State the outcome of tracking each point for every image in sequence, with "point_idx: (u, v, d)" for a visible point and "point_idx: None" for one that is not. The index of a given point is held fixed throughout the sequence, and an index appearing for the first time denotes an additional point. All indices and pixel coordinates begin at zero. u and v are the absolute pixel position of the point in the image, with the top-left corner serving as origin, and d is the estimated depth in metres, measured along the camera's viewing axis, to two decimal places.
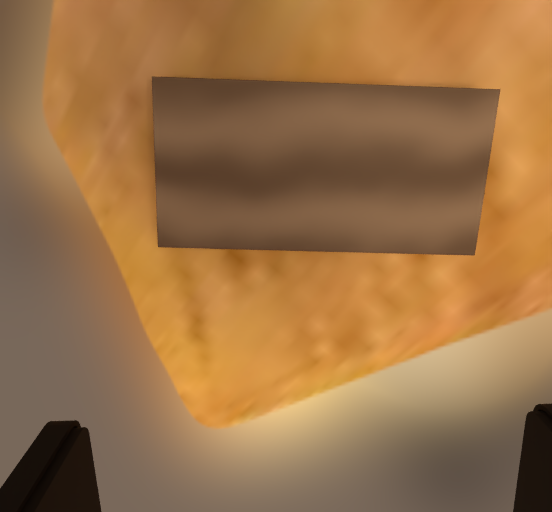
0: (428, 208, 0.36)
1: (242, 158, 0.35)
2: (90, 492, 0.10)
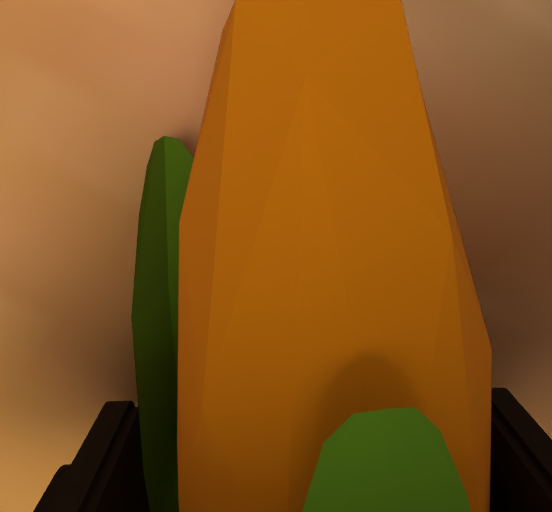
0: None
1: None
2: None
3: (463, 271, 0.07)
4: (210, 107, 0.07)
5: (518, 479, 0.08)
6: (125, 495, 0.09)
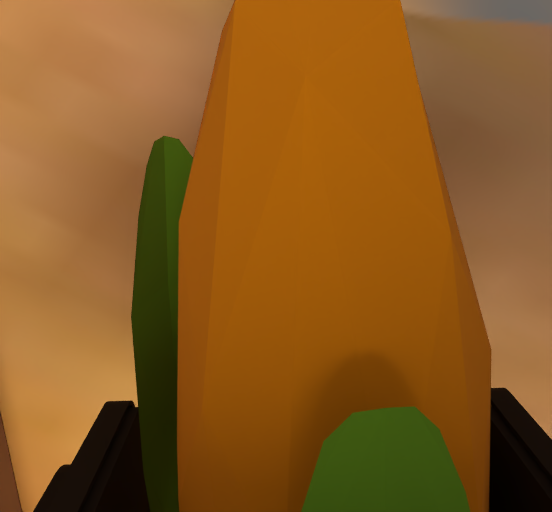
0: None
1: None
2: None
3: (462, 270, 0.07)
4: (209, 107, 0.07)
5: (518, 479, 0.08)
6: (126, 495, 0.09)
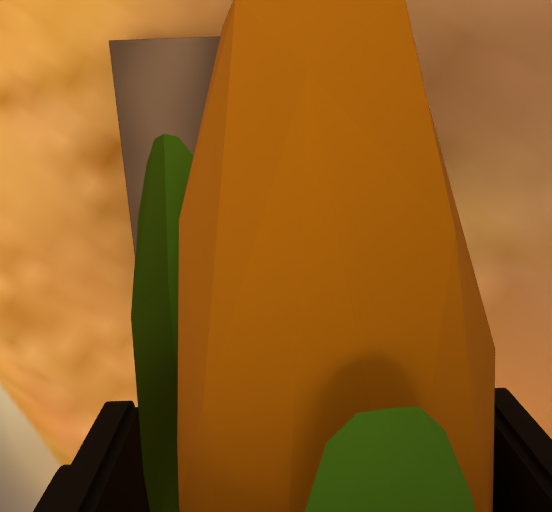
0: None
1: None
2: None
3: (466, 269, 0.06)
4: (210, 103, 0.07)
5: (518, 479, 0.08)
6: (126, 495, 0.09)
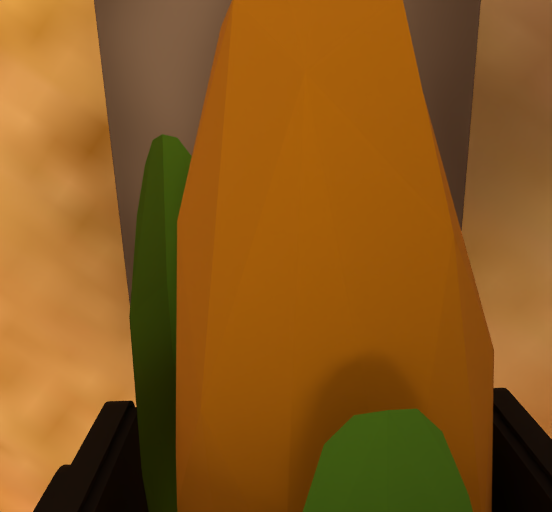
0: None
1: None
2: None
3: (465, 270, 0.06)
4: (208, 104, 0.07)
5: (518, 479, 0.08)
6: (125, 495, 0.09)
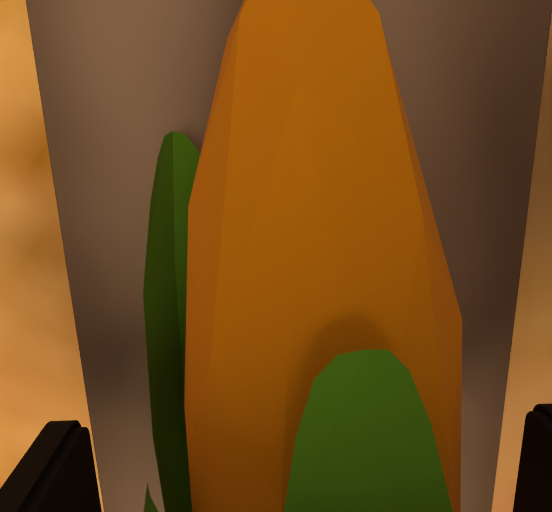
0: None
1: None
2: (90, 492, 0.10)
3: (433, 245, 0.08)
4: (217, 105, 0.08)
5: None
6: None
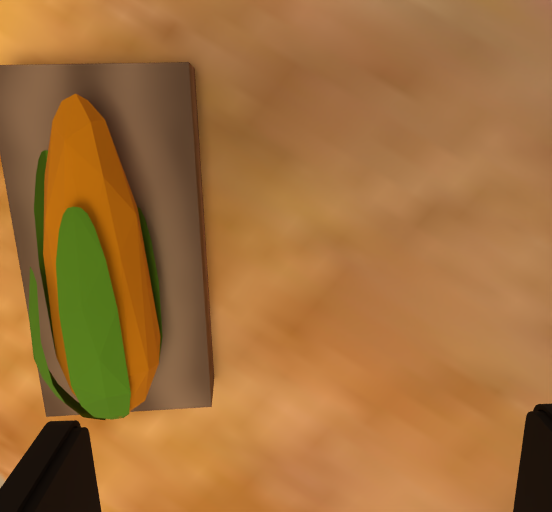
0: None
1: None
2: (90, 492, 0.10)
3: (111, 186, 0.27)
4: (49, 144, 0.27)
5: None
6: None
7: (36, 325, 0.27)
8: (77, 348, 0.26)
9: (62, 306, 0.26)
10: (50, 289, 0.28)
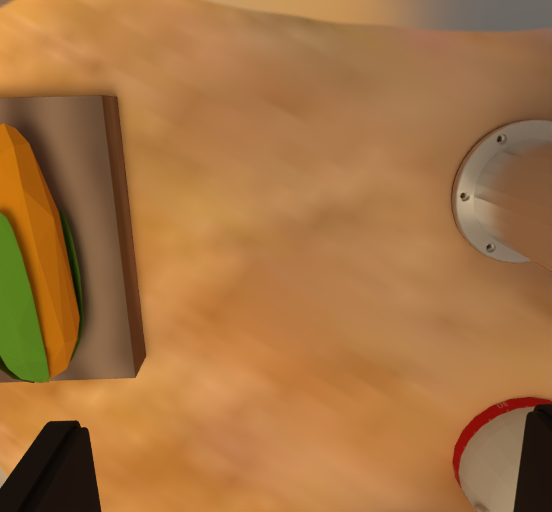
0: None
1: None
2: (90, 492, 0.10)
3: (30, 196, 0.34)
4: None
5: None
6: None
7: None
8: (1, 322, 0.34)
9: None
10: None
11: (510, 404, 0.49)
